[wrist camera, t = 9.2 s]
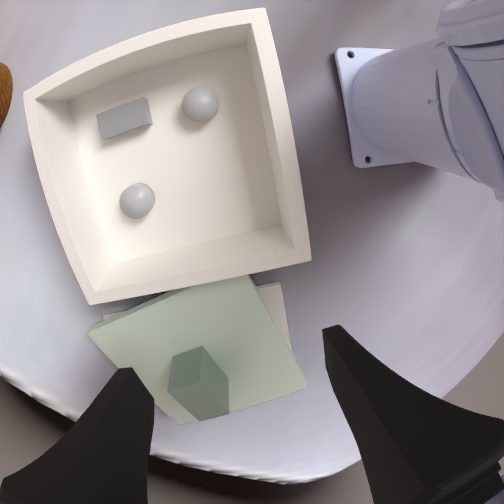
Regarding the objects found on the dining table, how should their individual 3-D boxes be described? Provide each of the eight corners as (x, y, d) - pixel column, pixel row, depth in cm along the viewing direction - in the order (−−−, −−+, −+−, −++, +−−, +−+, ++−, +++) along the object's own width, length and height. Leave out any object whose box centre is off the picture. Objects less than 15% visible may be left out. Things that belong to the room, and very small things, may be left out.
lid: (240, 252, 19) (245, 296, 14) (304, 371, 24) (317, 418, 19) (94, 319, 20) (70, 364, 16) (181, 410, 26) (176, 454, 21)
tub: (256, 34, 14) (264, 7, 10) (293, 230, 19) (311, 260, 15) (61, 95, 14) (22, 93, 10) (112, 270, 19) (89, 305, 15)
